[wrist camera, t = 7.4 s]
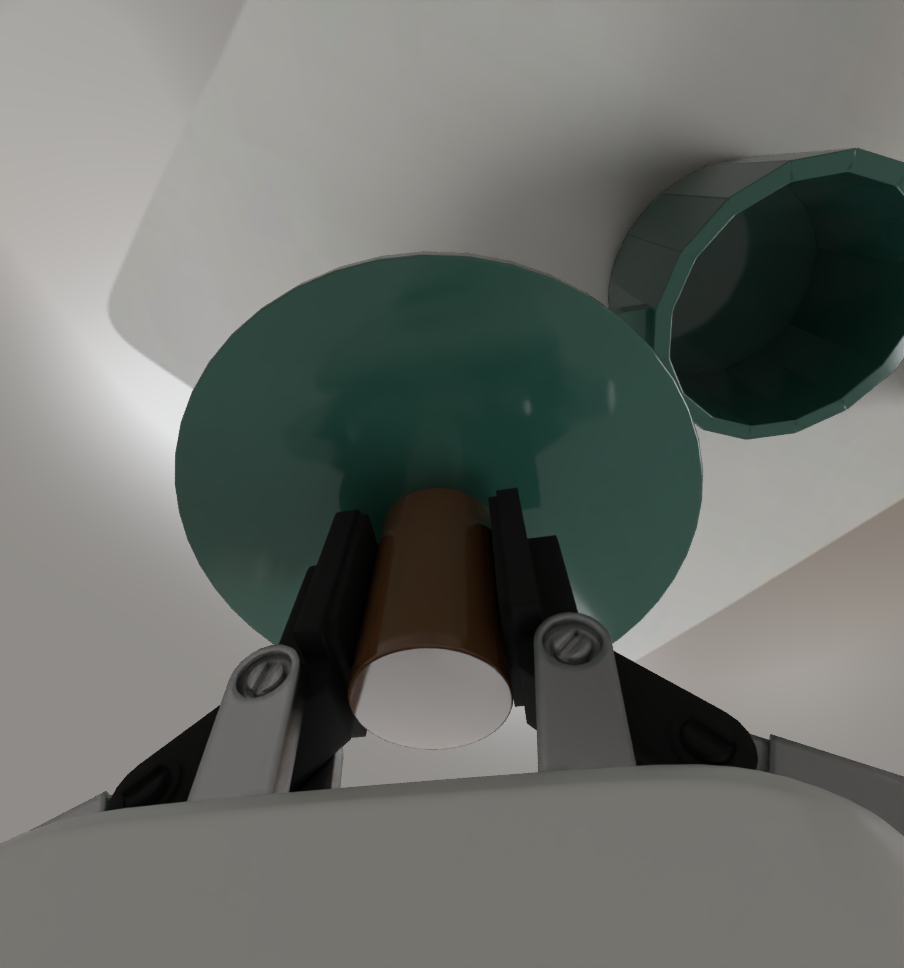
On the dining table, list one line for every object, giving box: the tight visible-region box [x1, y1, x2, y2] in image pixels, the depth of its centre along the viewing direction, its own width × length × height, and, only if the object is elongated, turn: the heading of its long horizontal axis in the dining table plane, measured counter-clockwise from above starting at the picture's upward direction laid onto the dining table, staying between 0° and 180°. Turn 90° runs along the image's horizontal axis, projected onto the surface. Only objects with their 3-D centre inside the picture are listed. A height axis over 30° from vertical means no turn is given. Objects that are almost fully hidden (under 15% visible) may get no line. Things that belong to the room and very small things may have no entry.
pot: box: [608, 148, 904, 439], centre depth 27 cm, size 13×18×8 cm
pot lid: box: [175, 251, 703, 750], centre depth 12 cm, size 14×14×6 cm
